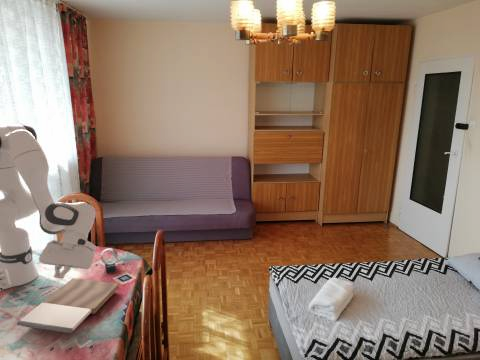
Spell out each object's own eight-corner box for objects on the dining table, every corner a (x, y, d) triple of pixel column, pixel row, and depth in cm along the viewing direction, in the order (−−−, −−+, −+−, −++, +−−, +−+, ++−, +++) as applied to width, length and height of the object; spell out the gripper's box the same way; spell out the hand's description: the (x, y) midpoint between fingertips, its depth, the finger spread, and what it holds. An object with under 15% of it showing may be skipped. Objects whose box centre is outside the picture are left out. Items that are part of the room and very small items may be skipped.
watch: (119, 270, 165) (118, 249, 162) (102, 273, 162) (100, 252, 159) (118, 265, 170) (117, 245, 167) (101, 268, 167) (99, 247, 164)
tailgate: (42, 305, 132) (17, 326, 120) (42, 301, 132) (16, 322, 120) (91, 312, 128) (70, 334, 117) (91, 308, 128) (69, 330, 116)
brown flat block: (44, 310, 134) (43, 302, 133) (73, 286, 151) (72, 278, 150) (95, 318, 130) (94, 309, 129) (119, 292, 147) (118, 283, 146)
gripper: (44, 236, 130) (28, 272, 124) (92, 242, 127) (78, 278, 120) (54, 242, 136) (39, 276, 129) (100, 247, 132) (87, 283, 125)
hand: (58, 278), depth 125 cm, fingers closed
